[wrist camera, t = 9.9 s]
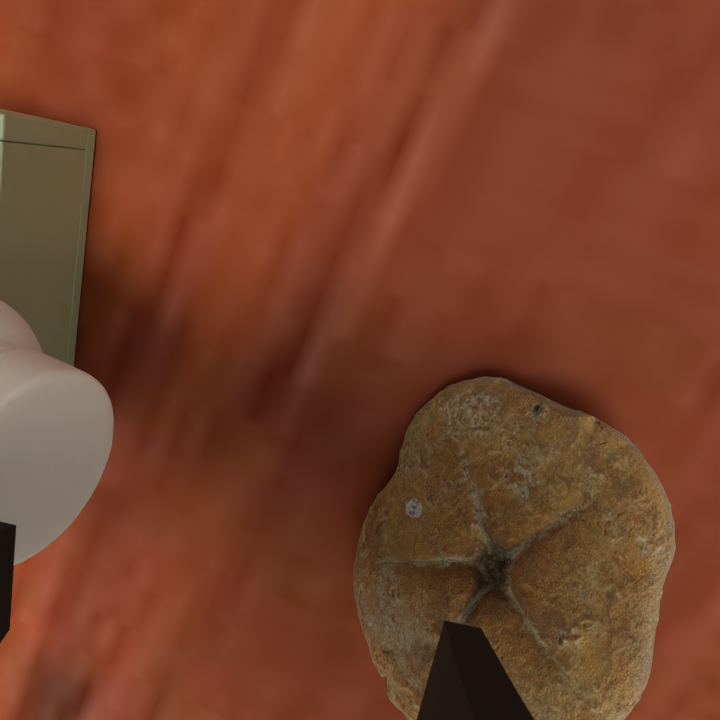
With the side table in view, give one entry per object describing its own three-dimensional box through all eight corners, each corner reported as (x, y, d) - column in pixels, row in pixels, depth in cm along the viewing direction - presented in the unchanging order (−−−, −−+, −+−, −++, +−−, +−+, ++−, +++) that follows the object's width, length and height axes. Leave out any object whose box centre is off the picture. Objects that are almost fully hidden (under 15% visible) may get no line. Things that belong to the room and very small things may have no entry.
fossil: (725, 457, 14) (565, 875, 15) (759, 467, 17) (627, 807, 18) (411, 345, 20) (305, 646, 20) (481, 368, 23) (388, 627, 24)
